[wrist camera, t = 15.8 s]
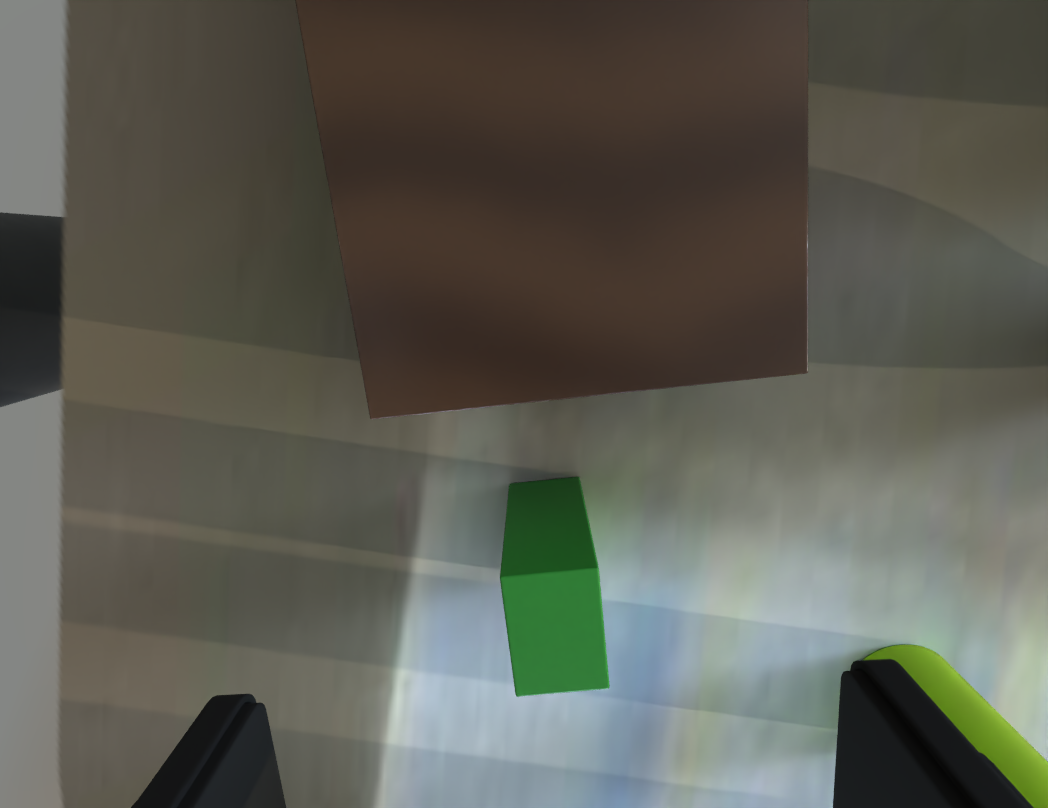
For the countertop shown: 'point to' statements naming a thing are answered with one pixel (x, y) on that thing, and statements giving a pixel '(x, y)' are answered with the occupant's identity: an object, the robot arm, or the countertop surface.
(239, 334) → the countertop surface
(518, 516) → the green rectangular box
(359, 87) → the cabinet
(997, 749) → the soap dispenser
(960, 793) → the robot arm
